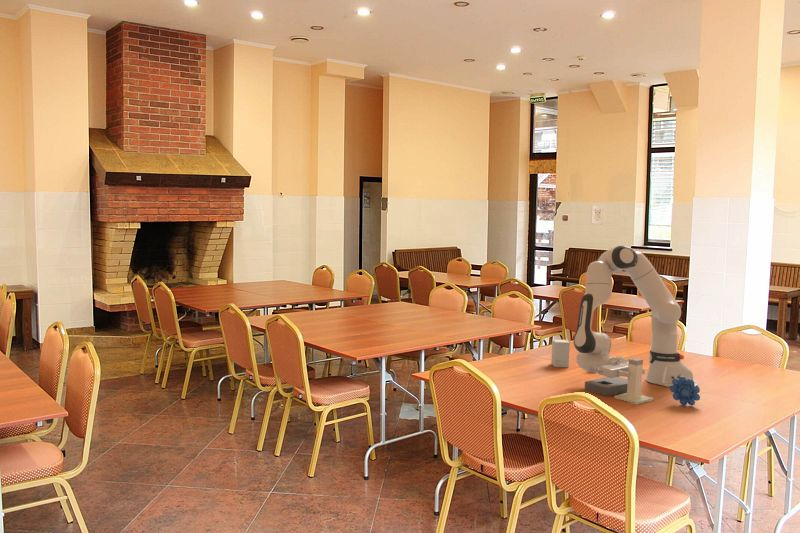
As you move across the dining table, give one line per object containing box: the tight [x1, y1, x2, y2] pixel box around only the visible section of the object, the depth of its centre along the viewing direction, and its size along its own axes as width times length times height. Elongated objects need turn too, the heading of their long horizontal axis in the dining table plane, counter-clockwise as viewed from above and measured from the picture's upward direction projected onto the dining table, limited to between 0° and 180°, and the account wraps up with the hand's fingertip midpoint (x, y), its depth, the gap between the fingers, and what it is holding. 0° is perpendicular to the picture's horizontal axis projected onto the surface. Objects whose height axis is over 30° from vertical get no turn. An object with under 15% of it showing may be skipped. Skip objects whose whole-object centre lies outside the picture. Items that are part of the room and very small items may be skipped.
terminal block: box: [584, 376, 628, 397], centre depth 299 cm, size 20×12×4 cm, turn 125°
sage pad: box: [614, 392, 654, 405], centre depth 284 cm, size 11×11×1 cm
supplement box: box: [550, 339, 571, 368], centre depth 341 cm, size 7×7×13 cm
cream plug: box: [626, 357, 644, 399], centre depth 284 cm, size 4×4×16 cm
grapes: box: [669, 376, 701, 406], centre depth 276 cm, size 12×7×12 cm, turn 70°
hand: (636, 373), depth 283 cm, fingers open, 8 cm apart
